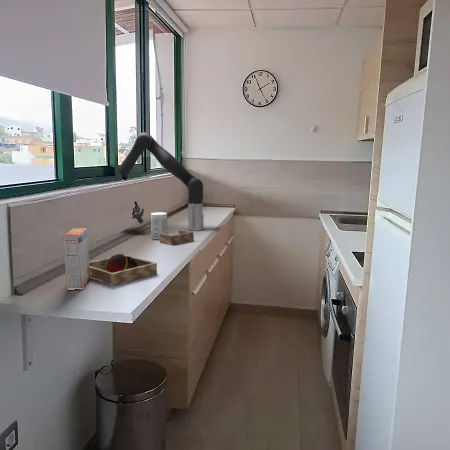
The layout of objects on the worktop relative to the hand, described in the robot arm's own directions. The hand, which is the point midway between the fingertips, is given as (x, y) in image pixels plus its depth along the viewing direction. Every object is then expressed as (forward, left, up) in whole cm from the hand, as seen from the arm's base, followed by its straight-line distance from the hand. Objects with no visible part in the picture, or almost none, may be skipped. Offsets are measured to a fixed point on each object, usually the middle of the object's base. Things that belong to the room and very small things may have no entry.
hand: (141, 222), depth 264 cm
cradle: (0, +30, -7) cm, 31 cm away
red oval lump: (+59, +60, -8) cm, 85 cm away
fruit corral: (+61, +61, -7) cm, 87 cm away
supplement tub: (0, +16, -8) cm, 18 cm away
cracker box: (+80, +62, -8) cm, 101 cm away
